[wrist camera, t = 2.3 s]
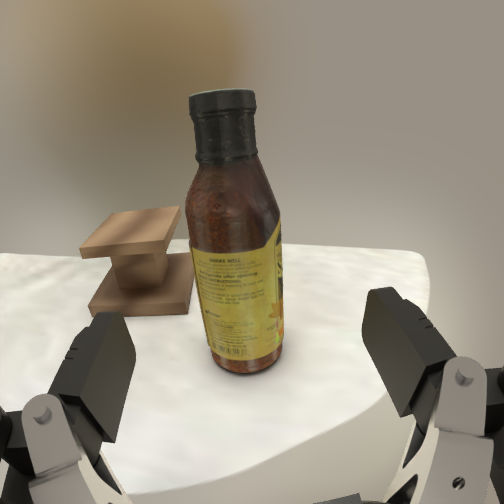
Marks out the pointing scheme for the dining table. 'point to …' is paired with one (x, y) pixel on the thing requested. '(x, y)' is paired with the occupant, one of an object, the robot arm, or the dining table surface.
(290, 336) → the dining table surface
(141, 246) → the walnut pedestal
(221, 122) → the sauce bottle
